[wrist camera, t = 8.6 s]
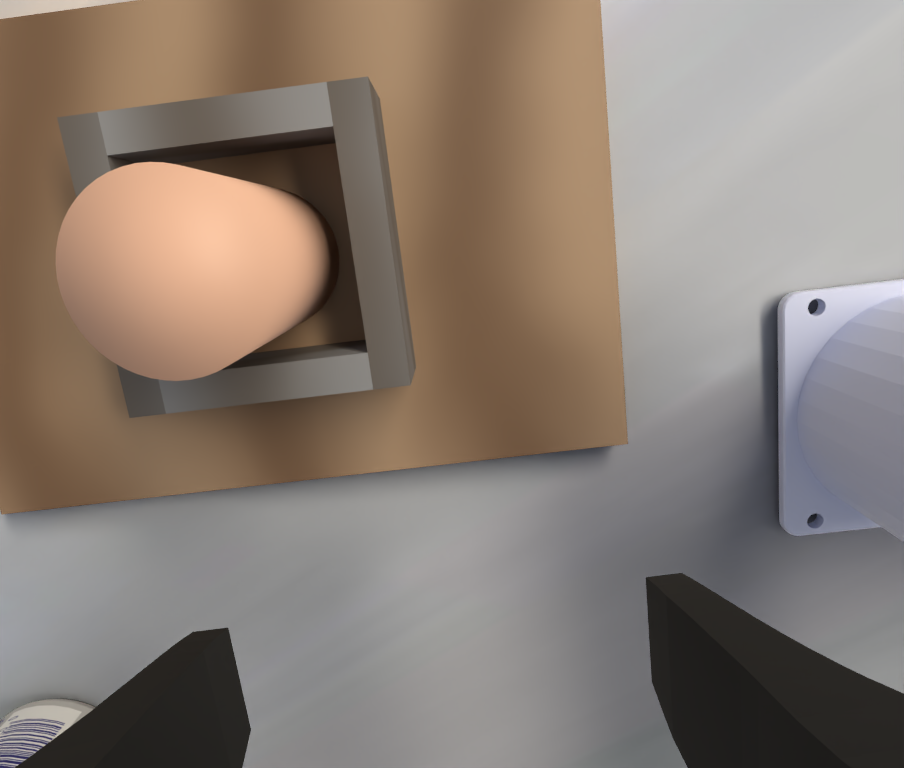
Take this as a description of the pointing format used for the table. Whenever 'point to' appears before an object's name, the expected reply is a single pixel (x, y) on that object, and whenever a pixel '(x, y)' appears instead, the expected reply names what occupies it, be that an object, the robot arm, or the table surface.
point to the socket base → (353, 224)
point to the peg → (190, 267)
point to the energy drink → (36, 727)
